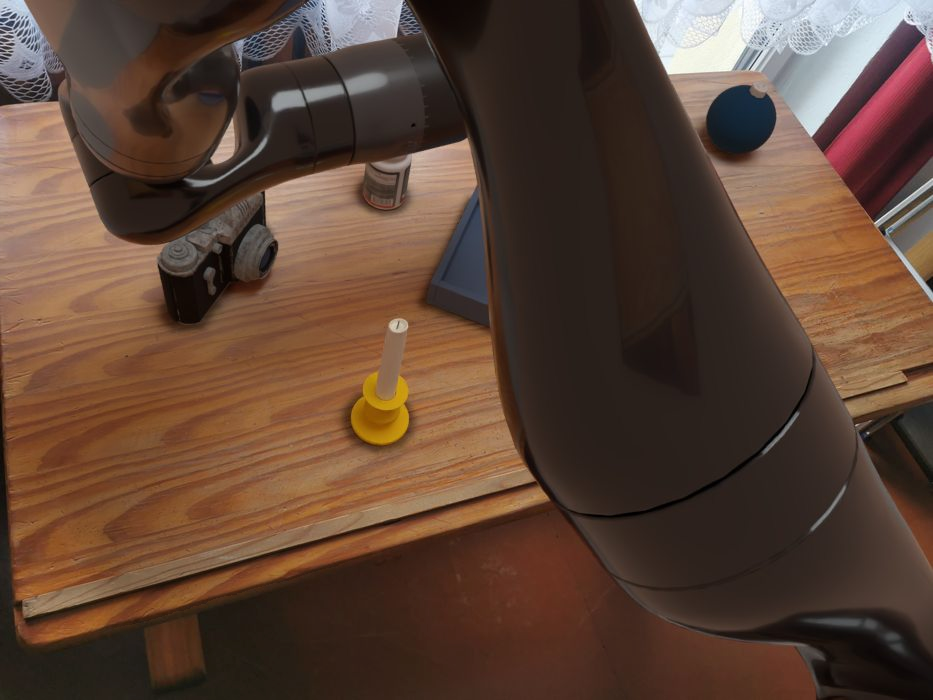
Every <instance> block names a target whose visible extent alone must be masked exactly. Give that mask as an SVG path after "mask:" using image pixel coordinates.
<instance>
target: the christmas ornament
mask: <svg viewBox="0 0 933 700" xmlns="http://www.w3.org/2000/svg"><path fill="white" fill-rule="evenodd" d="M768 91H769V87H768V85H767V84H766V83H765V82H763V81H754V82H753V83H752V85H750V84H739V85H734V86H731V87H729V88H727V89H725V90H723V91H721V92H720V93H719V94H718V95H717V96H716V97H715V98H714V99H713V101H712V102H711V104H710V105H709V108H708V110H707V112H706V118H705V128H706V129H705V130H706V133H707V135H708V137H709V140H710V141H711V142H712V144H713V145H714V146H715V147H716V148H717V149H719V150H720V151H722V152H724V153H727V154H731V155H744V154H745V155H746V154H749V153H752V152H754V151H756V150H758V149H759V148H761V147H762V146H763V145H764V144H766V143H767V141H768V140H769V139H770V138H771V136H772V135H773V132H774V130H775V128H776V124H777V109H776V106H775V103H774V100H773V99H772V97H771V96H770V95H769V94H768Z"/></svg>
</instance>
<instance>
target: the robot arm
mask: <svg viewBox="0 0 933 700" xmlns="http://www.w3.org/2000/svg"><path fill="white" fill-rule="evenodd" d="M23 1H24V3H25V5H26V7H27V9H28V11H29V12H30V14H31V16H32V17H33V19H34V20H35V22H36V23H35V24H37V26H38V28H39V29H40V32H41V33H42V35H43V37H44V39H45V40H46V41H47V43H48V44H49V47H51V49H52V50H53V52H54V54H55V56H56V57H57V59H58V61H59V62H60V64H61V65H62V68H63V70H64V73H65V78H64V79H63V80H62V81H61V83H60V84H59V86H58V88H57V100H58V104H59V109H60V113H61V116H62V119H63V122H64V125H65V128H66V131H67V133H68V136H69V139H70V142H71V144H72V147H73V149H74V152H75V155H76V157H77V159H78V160H77V161H78V163H79V166H80V168H81V170H82V173H83V176H84V178H85V180H86V184H87V187H88V188H89V192H90V195H91V198H92V201H93V205H94V206H95V209H96V211H97V214H98V216H99V219H100V221H101V223H102V225H103V226H104V228H105V229H106V231H108V233H110V234H111V235H113V236H114V237H116V238H117V239H119V240H122V241H124V242H127V243H130V244H134V245H140V246H160V245H166V244H168V243H169V242H172V241H175V240H177V239H179V238H181V237H183V236H185V235H187V234H189V233H191V232H193V231H195V230H196V229H198V228H200V227H201V226H203V225H205V224H206V223H208V222H209V221H211V220H213V219H214V218H216V217H217V216H219V215H221V214H222V213H224V212H225V211H227V210H229V209H230V208H232V207H234V206H236V205H237V204H239V203H241V202H243V201H244V200H246V199H248V198H250V197H252V196H254V195H256V194H258V193H260V192H262V191H265V192H266V191H267V190H269V189H272V188H274V187H277V186H279V185H281V184H284V183H287V182H290V181H293V180H297V179H300V178H301V179H302V178H305V177H309V176H312V175H316V174H321V173H325V172H328V171H333V170H337V169H341V168H345V167H349V166H350V167H351V166H356V165H364V164H367V163H376V162H381V161H385V160H389V159H393V158H397V157H401V156H405V155H409V154H412V155H413V154H417V153H422V152H425V151H429V150H433V149H437V148H441V147H445V146H448V145H454V144H457V143H461V142H463V141H465V140H466V139H467V143H468V145H469V150H470V154H471V158H472V163H473V169H474V174H475V180H476V186H478V194H479V203H480V211H481V220H482V230H483V242H484V255H485V268H486V281H487V295H488V308H489V321H490V327H489V331H490V339H491V348H492V355H493V357H492V358H493V364H494V374H495V379H496V386H497V391H498V396H499V400H500V405H501V409H502V413H503V416H504V419H505V423H506V425H507V428H508V431H509V434H510V437H511V440H512V442H513V446H514V448H515V450H516V452H517V454H518V456H519V459H520V460H521V461H522V463H523V465H524V466H525V467H526V469H527V470H528V472H529V473H530V475H531V476H532V477H533V479H534V480H535V482H536V483H537V484H538V486H539V487H540V489H541V490H542V491H543V493H544V494H545V495H546V496H547V497H548V499H549V501H550V502H551V503H552V504H553V506H554V507H555V508H556V510H557V511H558V512H559V514H560V515H561V517H563V519H564V520H565V521H566V523H567V524H568V526H569V527H570V528H571V529H572V530H573V532H574V533H575V534H576V536H577V537H578V538H579V539H580V541H581V542H582V543H583V545H584V546H585V547H586V549H587V550H588V551H589V552H590V554H591V555H592V556H593V558H594V559H595V560H596V561H597V563H598V564H599V565H600V567H601V568H602V570H603V571H604V572H605V573H606V574H607V575H608V576H609V577H610V579H611V580H612V581H613V583H614V584H616V586H618V587H619V588H620V589H621V590H622V591H623V592H624V593H625V594H626V595H627V596H628V597H629V598H630V599H632V601H633V602H634V603H636V604H637V605H638V606H639V607H641V608H642V609H643V610H645V611H647V612H649V613H651V614H653V615H654V616H656V617H658V618H660V619H662V620H664V621H665V622H668V623H669V624H671V625H674V626H677V627H679V628H681V629H684V630H687V631H691V632H695V633H698V634H702V635H705V636H709V637H713V638H717V639H719V640H720V639H721V640H727V641H734V642H739V643H747V644H760V645H770V646H771V645H772V646H773V645H774V646H784V647H794V649H795V651H796V652H797V653H798V655H799V656H800V657H801V659H802V661H803V662H804V664H805V666H806V668H807V669H808V671H809V673H810V677H811V678H812V681H813V684H814V688H815V700H933V567H932V566H931V564H930V562H929V560H928V558H927V557H926V555H925V553H924V551H923V549H922V547H921V545H920V544H919V542H918V541H917V539H916V537H915V535H914V533H913V532H912V530H911V528H910V527H909V525H908V523H907V520H905V518H904V516H903V514H902V513H901V511H900V509H899V508H898V506H897V504H896V502H895V500H894V499H893V497H892V496H891V494H890V492H889V490H888V488H887V487H886V485H885V484H884V481H883V480H882V478H881V476H880V474H879V473H878V470H877V468H876V467H875V464H874V462H873V460H872V458H871V457H870V454H869V451H868V450H867V448H866V446H865V443H864V440H863V438H862V437H861V435H860V432H859V430H858V428H857V425H856V423H855V421H854V418H853V417H852V414H851V413H850V411H849V410H848V407H847V406H846V404H845V402H844V400H843V398H842V396H841V395H840V393H839V391H838V388H837V387H836V385H835V383H834V381H833V380H832V377H831V376H830V374H829V372H828V370H827V368H826V366H825V365H824V363H823V360H821V357H820V356H819V354H818V352H817V350H816V348H815V346H814V345H813V343H812V341H811V339H810V338H809V335H808V333H807V332H806V329H805V328H804V327H803V325H802V323H801V321H800V320H799V319H798V317H797V316H796V314H795V312H794V310H793V308H792V307H791V306H790V304H789V302H788V300H787V299H786V298H785V296H784V294H783V291H781V289H780V287H779V286H778V284H777V282H776V281H775V279H774V277H773V275H772V273H771V272H770V270H769V268H768V267H767V265H766V263H765V262H764V260H763V258H762V256H761V255H760V252H759V251H758V249H757V248H756V245H755V243H754V242H753V239H752V238H751V236H750V234H749V232H748V231H747V229H746V227H745V225H744V223H743V221H742V219H741V217H740V215H739V213H738V211H737V210H736V208H735V205H734V203H733V202H732V199H731V198H730V196H729V194H728V191H727V190H726V188H725V186H724V183H723V182H722V180H721V177H720V175H719V174H718V171H717V169H716V167H715V166H714V163H713V162H712V159H711V157H710V155H709V154H708V151H707V149H706V146H705V145H704V143H703V141H702V140H701V138H700V135H699V133H698V131H697V129H696V128H695V126H694V123H693V121H692V120H691V118H690V116H689V114H688V112H687V110H686V107H685V106H684V104H683V102H682V99H681V98H680V96H679V94H678V92H677V90H676V88H675V86H674V84H673V82H672V80H671V78H670V76H669V74H668V71H667V70H666V67H665V65H664V62H663V61H662V59H661V57H660V55H659V53H658V50H657V49H656V46H655V44H654V42H653V40H652V38H651V36H650V34H649V31H648V29H647V27H646V25H645V22H644V20H643V17H642V15H641V13H640V10H639V9H638V7H637V4H636V2H635V0H404V2H405V4H406V6H407V7H408V9H409V11H410V13H411V15H412V16H413V18H414V19H415V21H416V23H417V25H418V27H419V28H420V30H421V32H419V33H413V34H408V35H402V36H395V37H391V38H386V39H385V38H384V39H380V40H374V41H369V42H363V43H356V44H353V45H348V46H345V47H341V48H338V49H336V50H333V51H330V52H327V53H324V54H320V55H315V56H314V55H313V56H309V57H308V56H307V57H303V58H298V59H292V60H287V61H286V60H285V61H281V62H275V63H274V62H273V63H269V64H264V65H259V66H254V67H252V68H248V69H245V70H243V71H242V72H241V64H240V60H239V56H238V51H237V48H236V46H235V43H236V42H239V41H242V40H244V39H248V38H250V37H253V36H255V35H258V34H259V33H262V32H264V31H266V30H269V29H271V28H273V27H274V26H276V25H278V24H279V23H281V22H282V21H284V20H286V19H288V18H289V17H290V16H291V15H292V14H294V13H295V12H298V11H299V10H300V9H301V8H302V7H303V5H305V4H307V3H309V2H311V0H23ZM231 122H232V125H233V134H234V150H233V153H232V156H231V157H229V158H228V159H226V160H224V161H222V162H219V163H214V161H213V159H212V158H213V156H214V155H215V153H216V151H217V150H218V148H219V146H220V144H221V142H222V140H223V138H224V136H225V134H226V132H227V130H228V128H229V126H230V124H231Z"/></svg>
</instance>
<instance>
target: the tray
mask: <svg viewBox="0 0 933 700" xmlns="http://www.w3.org/2000/svg"><path fill="white" fill-rule="evenodd" d="M425 304H428V305H431V306H434V307H436V308H439V309H441V310H444V311H446V312H448V313H451V314H453V315H454V314H455V315H456V316H458V317H462V318H465V319H467V320H470V321H472V322H475V323H477V324H480V325H483V326H484V327H488V328H490V321H489V308H488V295H487V281H486V268H485V255H484V242H483V230H482V220H481V211H480V203H479V194H478V186H477V185H476V186H475V187H474V189H473V192H472V194H471V197H470V199H469V201H468V202H467V204H466V207H465V209H464V211H463V213H462V215H461V218H460V219H459V222H458V223H457V226H456V227H455V230H454V232H453V234H452V236H451V238H450V241H448V244H447V246H446V248H445V251H444V253H443V255H442V257H441V260H440V261H439V263H438V266H437V267H436V269H435V272H434V274H433V276H432V278H431V280H430V282H429V287H428V290H427V295H426V299H425Z"/></svg>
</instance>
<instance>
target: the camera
mask: <svg viewBox="0 0 933 700" xmlns="http://www.w3.org/2000/svg"><path fill="white" fill-rule="evenodd" d="M266 209H267V207H266V190H265V191H262V192H260V193H258V194H256V195H254V196H252V197H250V198H248V199H246V200H244V201H243V202H241V203H239V204H237V205H236V206H234V207H232V208H230V209H229V210H227V211H225V212H224V213H222V214H221V215H219V216H217V217H216V218H214V219H213V220H211V221H209V222H208V223H206V224H205V225H203V226H201V227H200V228H198V229H196V230H195V231H193V232H191V233H189V234H187V235H185V236H183V237H181V238H179V239H177V240H175V241H172V242H169V243H165V244H164V246H163V247H162V249H161V251H160V253H159V254H157V256H156V261H157V262H156V263H157V269H158V273H159V279H160V283H161V288H162V293H163V297H164V301H165V306H166V310H167V314H168V315H169V316H170V318H171V320H172V321H174V322H176V323H179V324H181V325H186V326H188V325H189V326H191V325H197V324H200V323H202V321H203V320H204V318H205V317H206V316H207V314H208V313H209V312H210V311H211V309H212V307H214V305H215V303H216V302H217V301H218V299H219V298H220V297H221V295H222V294H223V293H224V291H226V289H227V287H228V286H229V285H230V284H232V285H233V284H234V285H236V283H239V282H241V281H243V282H245V283H249V282H251V281H256V280H263V279H264V278H266V277H267V276H268V274H269V273H270V272H271V270H272V268H273V267H274V265H275V262H276V260H277V257H278V252H279V241H278V240H277V239H276V238H275V237H274V235H273V233H271V229H270V228H269V227H267V211H266Z"/></svg>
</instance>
